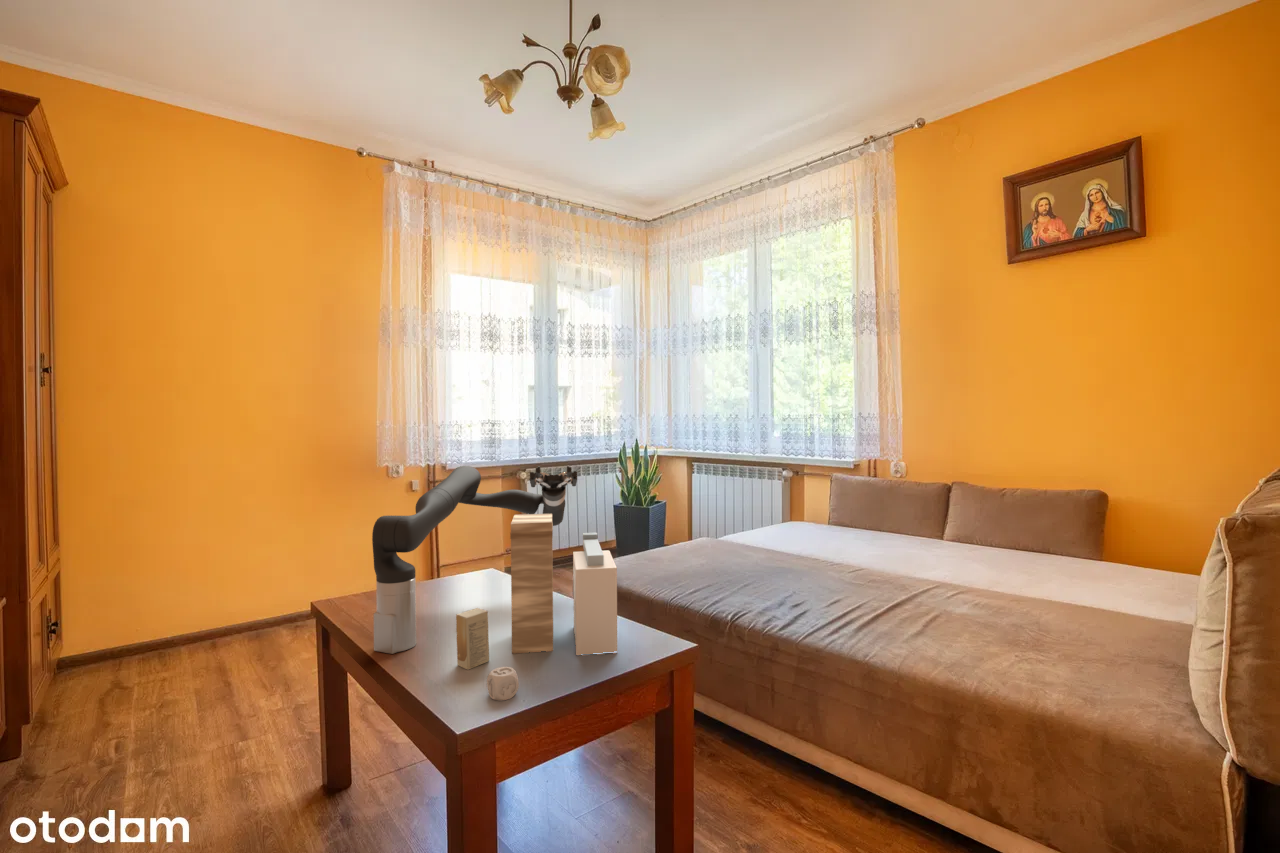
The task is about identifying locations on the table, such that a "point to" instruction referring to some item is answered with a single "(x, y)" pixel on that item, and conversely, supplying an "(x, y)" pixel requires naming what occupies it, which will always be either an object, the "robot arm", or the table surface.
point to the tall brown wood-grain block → (532, 583)
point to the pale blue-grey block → (592, 549)
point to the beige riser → (595, 604)
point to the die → (502, 683)
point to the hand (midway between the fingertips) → (553, 468)
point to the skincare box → (472, 638)
